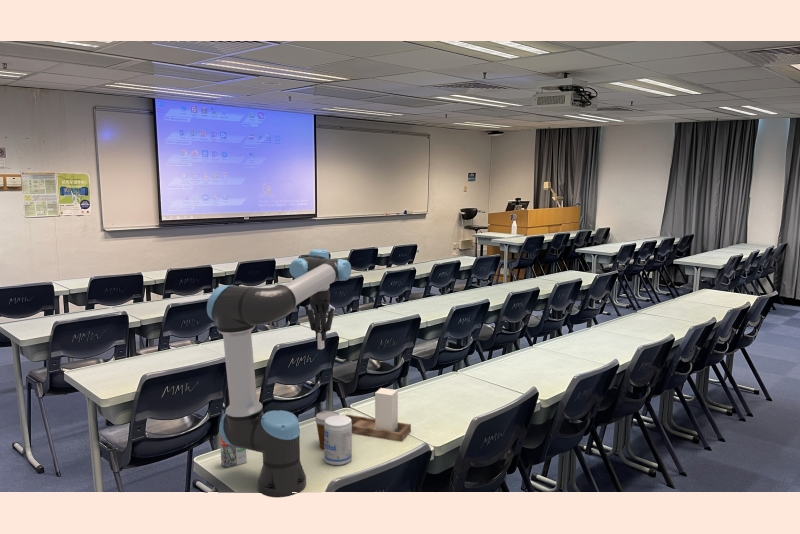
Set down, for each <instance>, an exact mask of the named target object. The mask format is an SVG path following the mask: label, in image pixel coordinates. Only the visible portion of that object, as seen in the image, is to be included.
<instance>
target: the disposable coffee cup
mask: <svg viewBox="0 0 800 534" xmlns="http://www.w3.org/2000/svg"><path fill="white" fill-rule="evenodd" d="M336 415H341V414H340V413H339V412H337V411H334V410H333V411H332V410H324V411H320V412H318V413H317V414H316V415H315V418H314V421H315V423H316V430H317V435H318V442H319V443H318V444H319V447H320V449H322V450H324V425H325V420H326V419H327V418H328V417H331V416H336Z"/></svg>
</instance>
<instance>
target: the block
mask: <svg viewBox="0 0 800 534" xmlns="http://www.w3.org/2000/svg"><path fill="white" fill-rule="evenodd" d="M398 392H399V391H398V389H393V388H392V389H391V388H385V387H383V388H382V387H380V388H378V390H377V391H375V392H374V417H375V418H374V419H375V429H380V430H386V431H392V432H393V431H394V430H395V429H396V428H397V427H398V422H399V417H398V416H399V413H398V412H399V407H398V406H399V405H398V404H399V403H398V402H399V401H398V399H399V396H398V394H399V393H398Z"/></svg>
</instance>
